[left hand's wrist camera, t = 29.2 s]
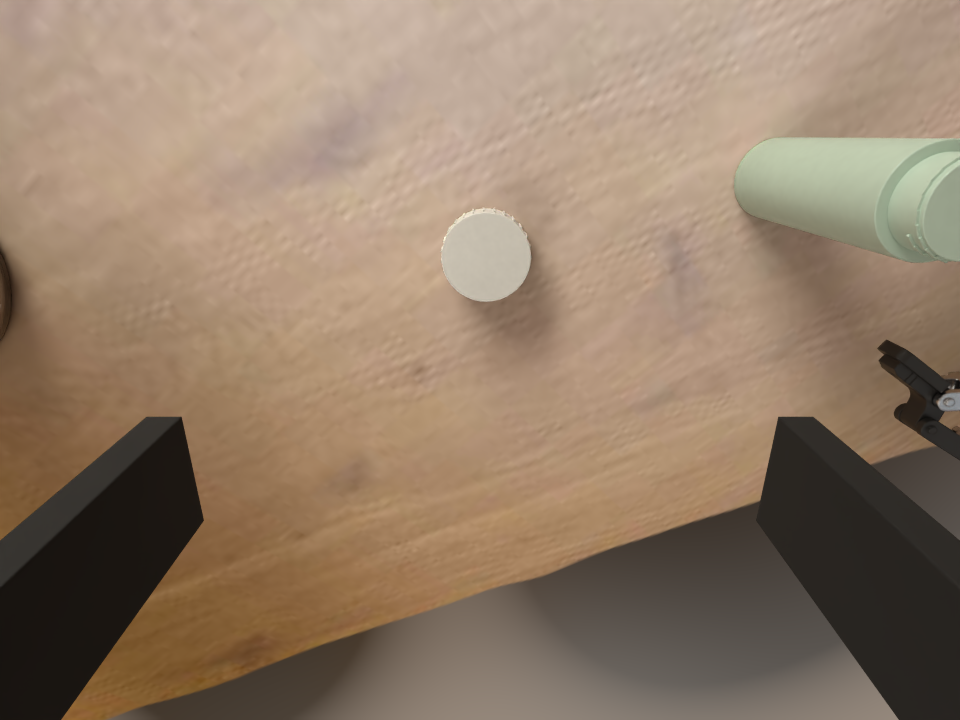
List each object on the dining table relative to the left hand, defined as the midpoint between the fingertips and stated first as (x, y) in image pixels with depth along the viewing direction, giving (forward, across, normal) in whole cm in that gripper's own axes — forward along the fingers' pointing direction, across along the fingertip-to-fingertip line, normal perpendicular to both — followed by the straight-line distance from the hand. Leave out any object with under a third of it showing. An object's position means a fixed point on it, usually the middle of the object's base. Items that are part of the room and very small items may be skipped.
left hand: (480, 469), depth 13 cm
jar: (+26, +18, +4) cm, 32 cm away
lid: (+24, 0, 0) cm, 25 cm away
